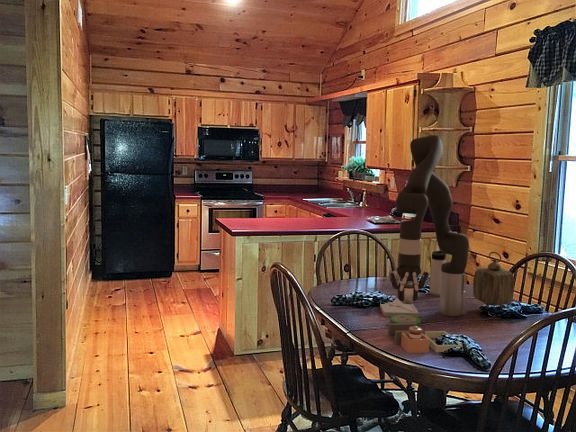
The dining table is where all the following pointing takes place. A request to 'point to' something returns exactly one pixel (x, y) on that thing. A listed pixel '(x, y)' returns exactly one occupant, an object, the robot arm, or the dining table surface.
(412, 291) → the cell
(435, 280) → the travel mug
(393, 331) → the cradle
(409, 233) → the robot arm
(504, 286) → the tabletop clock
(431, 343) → the trough
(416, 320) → the tape roll
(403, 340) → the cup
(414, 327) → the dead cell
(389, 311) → the envelope
